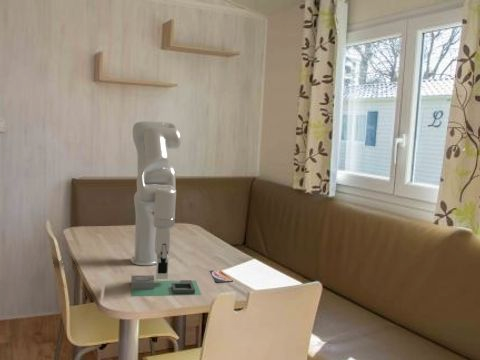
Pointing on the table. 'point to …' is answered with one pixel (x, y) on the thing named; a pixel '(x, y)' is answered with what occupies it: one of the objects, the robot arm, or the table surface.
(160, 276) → the plug
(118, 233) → the table surface
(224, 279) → the smartphone
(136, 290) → the board
